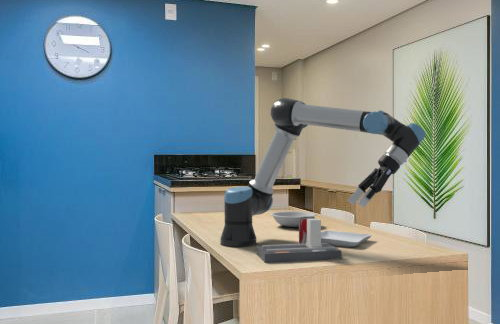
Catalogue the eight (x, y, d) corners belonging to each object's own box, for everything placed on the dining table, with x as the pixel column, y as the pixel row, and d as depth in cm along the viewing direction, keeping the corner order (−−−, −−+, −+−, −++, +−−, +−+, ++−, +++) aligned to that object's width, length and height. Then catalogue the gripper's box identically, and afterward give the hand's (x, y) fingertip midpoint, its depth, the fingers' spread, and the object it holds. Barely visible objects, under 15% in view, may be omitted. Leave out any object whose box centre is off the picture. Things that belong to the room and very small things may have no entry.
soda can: (307, 249, 177) (307, 219, 177) (295, 246, 183) (295, 217, 182) (320, 247, 181) (320, 217, 181) (308, 244, 187) (308, 215, 187)
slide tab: (306, 245, 168) (306, 218, 168) (316, 245, 169) (316, 218, 169) (311, 249, 162) (311, 220, 162) (321, 248, 163) (321, 220, 163)
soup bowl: (316, 231, 222) (316, 217, 222) (267, 229, 226) (267, 216, 226) (316, 223, 246) (316, 211, 246) (273, 222, 249) (273, 210, 249)
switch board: (256, 254, 168) (256, 244, 168) (328, 251, 173) (328, 241, 173) (264, 262, 155) (264, 251, 155) (341, 258, 161) (341, 248, 161)
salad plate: (372, 241, 196) (372, 233, 196) (357, 250, 177) (357, 241, 177) (326, 237, 207) (326, 229, 206) (307, 244, 188) (307, 236, 188)
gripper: (413, 166, 154) (373, 213, 153) (388, 167, 179) (353, 208, 178) (397, 151, 154) (357, 199, 153) (373, 155, 179) (339, 195, 177)
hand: (355, 204), depth 165 cm, fingers open, 13 cm apart
